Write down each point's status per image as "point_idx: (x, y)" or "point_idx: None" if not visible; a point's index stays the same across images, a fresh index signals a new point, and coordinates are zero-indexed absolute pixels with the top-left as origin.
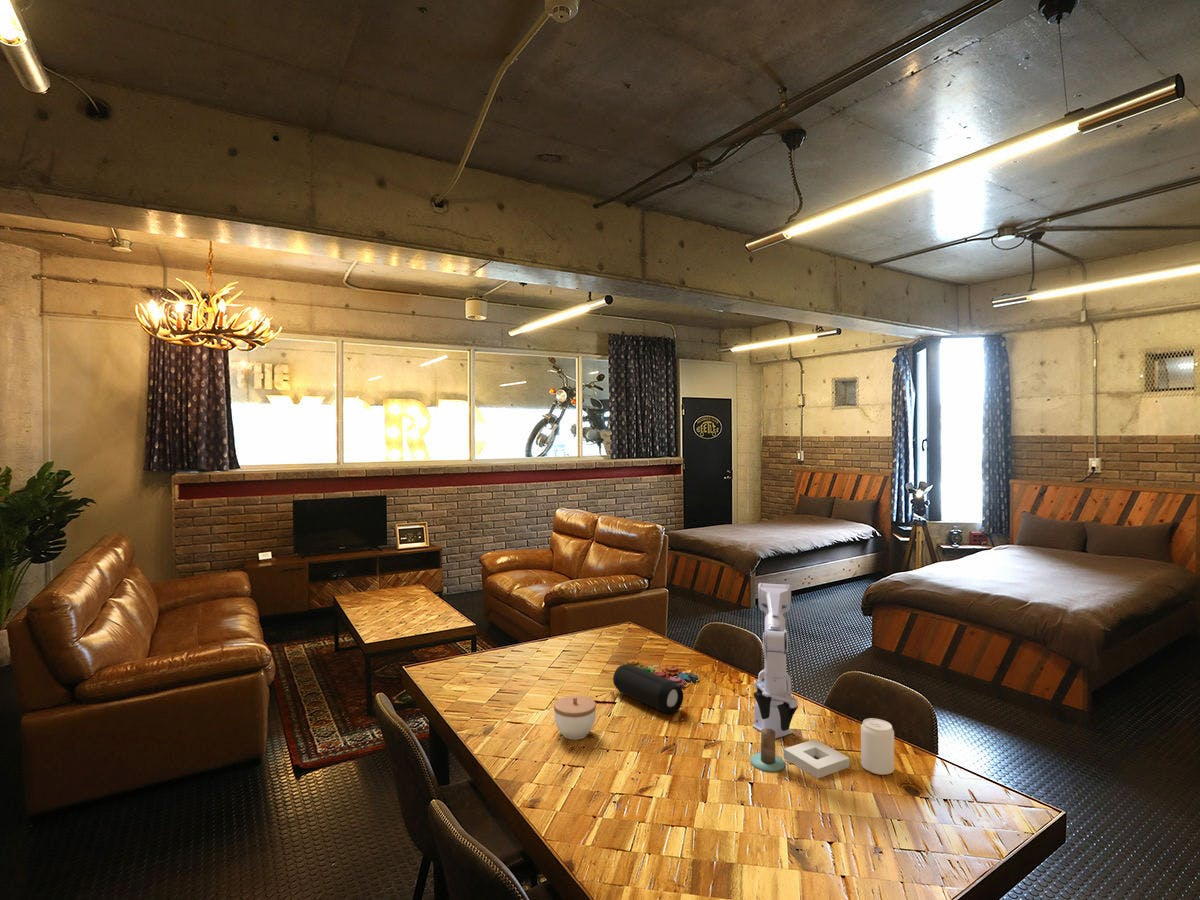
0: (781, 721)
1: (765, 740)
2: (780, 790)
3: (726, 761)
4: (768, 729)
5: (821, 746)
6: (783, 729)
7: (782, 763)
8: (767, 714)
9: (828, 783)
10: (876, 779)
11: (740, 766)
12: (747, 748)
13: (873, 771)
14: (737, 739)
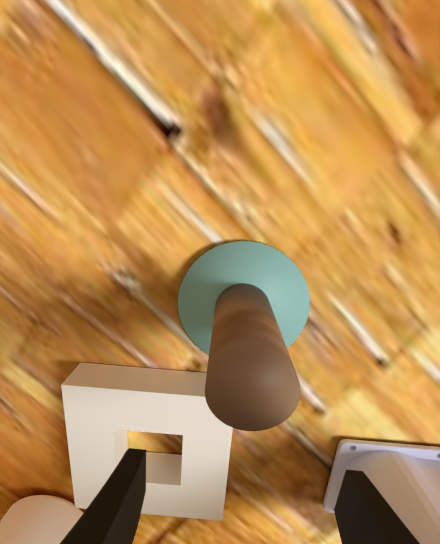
0: (94, 527)
1: (235, 332)
2: (75, 196)
3: (356, 170)
4: (271, 415)
5: (173, 501)
6: (121, 459)
7: (198, 337)
8: (349, 536)
9: (45, 367)
10: (11, 478)
11: (289, 194)
12: (364, 322)
13: (24, 500)
14: (437, 341)
